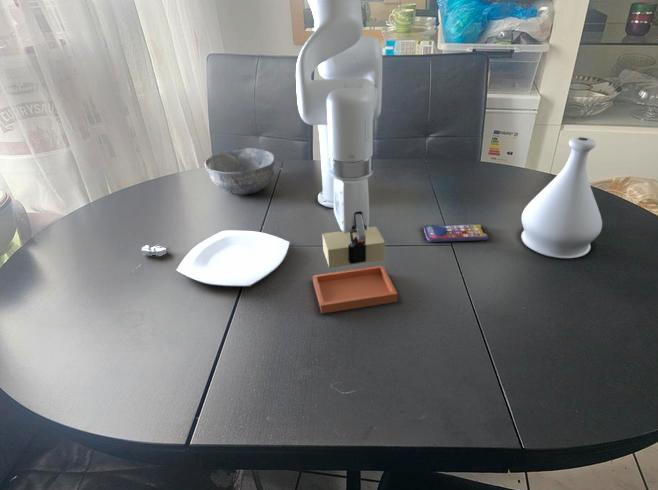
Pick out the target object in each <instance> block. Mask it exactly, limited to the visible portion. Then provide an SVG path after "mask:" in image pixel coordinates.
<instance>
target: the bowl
mask: <svg viewBox="0 0 658 490" xmlns="http://www.w3.org/2000/svg"><path fill="white" fill-rule="evenodd" d="M275 162H276V157H275V155H274V154H273V153H272V152H270V151H268V150H265V149H263V148H255V147H238V148H234V149H233V148H232V149H230V150H227V151H220V152H217V153H215V154H212V155H211V156H209V157H208V158H206V159H205V161H204V166H203V167H204V168H205V169H206V171H207V172H208V174H209V177H210V181H211V182H212V183H213V184H214V185H216V186H217V187H218V188H220V189H222V190H223V191H224V192H227V193H230V194H233V195H251V194H255V193H258V192H260V191H262V190H263V189H266V188H267V187H268V186H269V184H270V183H271V182H272V181H273V180H272V179H273V178H274V176H275V170H274V169H275V168H274V166H275Z"/></svg>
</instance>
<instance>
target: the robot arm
mask: <svg viewBox="0 0 658 490" xmlns="http://www.w3.org/2000/svg"><path fill="white" fill-rule="evenodd" d="M384 1H385V0H307V2H308V4H309V6H310V9H311V11H312V12H311V13H312V16H313V20H314V31H313V33H311V35H310V36H309V37H308V39H306V41H305V43H304V44H303V46H302V48H301V50H300V52H299V55H298V58H297V61H296V68H295V82H296V83H295V84H296V85H295V86H296V98H297V99H296V101H297V102H296V103H297V109H298V114H299V116H300V118H301V120H302V121H303V122H304V123H305V124H307V125H310V126H317V128H318V138H319V139H318V140H319V151H320V168H321V169H320V170H321V185H322V190H321V191H320V192H319V194H318V195H317V201H318V203H319V204H320V205H322V206H324V207H327V208H331V209H333V215H334V217H335V219H336V223H337V224H338V227H339V229H340V231H342V232H343V233H347V232H349V239H350V244H349V245H348V250H349V263H350V264H353V263H360V262H365V261H366V240H365V239H366V236H365V231H366V230H367V229H368V228H369V226H370V196H369V194H370V193H369V190H370V189H369V180H368V178H370V177H371V176H372V175H373V170H374V169H373V168H374V167H373V166H374V165H373V163H374V160H373V159H374V153H373V152H374V151H373V150H374V145H373V144H374V143H373V141H374V138H373V137H374V122H376V121H377V120H378V119H379V118H380V116H381V113H382V106H383V105H382V103H383V102H382V100H383V98H382V97H383V50H382V49H383V48H382V45H381V43H380V41H379V39H377V37H375V36H372V35H363V32H364V21H363V20H364V19H363V11H362V10H363V9H362V3H381V2H384ZM316 69H317V70H318V73H319V75H320V77H321V78H322V79H312V75H313V73H314V71H315V70H316ZM356 232H357V237H355V238H354V240H353V233H356ZM360 264H361V263H360ZM353 265H354V264H353Z"/></svg>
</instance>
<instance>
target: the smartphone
mask: <svg viewBox="0 0 658 490" xmlns="http://www.w3.org/2000/svg"><path fill="white" fill-rule="evenodd" d="M423 232H424V235H425V238H426V240H427V242H430V243H436V242H437V243H439V242H441V243H442V242H465V241H466V242H468V241H486V240H488V239H489V234H488V233H487V230H486V229H485V227H484V226H483V225H482V224H481V223H463V224H462V223H460V224H459V223H458V224H435V225H433V224H432V225H425V226H424V227H423Z"/></svg>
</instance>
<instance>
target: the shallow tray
mask: <svg viewBox="0 0 658 490" xmlns="http://www.w3.org/2000/svg"><path fill="white" fill-rule="evenodd" d="M312 284H313V287H314V291H315V294H316V298H317V302H318V306H319V309H320V314H328V313H334V312H340V311H341V312H342V311H347V310H354V309H360V308H366V307H372V306H373V307H374V306H379V305H384V304H391V303H392V304H393V303H398V292H397V290H396V288H395V286H394V284H393V283H392V280H391V279H390V277H389V274H388V273H387V270H386V268H385V266H384V265H375V266H368V267H362V268H356V269H349V270H348V269H347V270H340V271H334V272H327V273H319V274H314V275H312Z"/></svg>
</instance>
